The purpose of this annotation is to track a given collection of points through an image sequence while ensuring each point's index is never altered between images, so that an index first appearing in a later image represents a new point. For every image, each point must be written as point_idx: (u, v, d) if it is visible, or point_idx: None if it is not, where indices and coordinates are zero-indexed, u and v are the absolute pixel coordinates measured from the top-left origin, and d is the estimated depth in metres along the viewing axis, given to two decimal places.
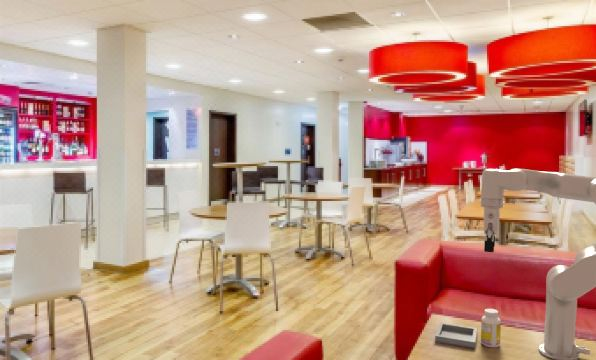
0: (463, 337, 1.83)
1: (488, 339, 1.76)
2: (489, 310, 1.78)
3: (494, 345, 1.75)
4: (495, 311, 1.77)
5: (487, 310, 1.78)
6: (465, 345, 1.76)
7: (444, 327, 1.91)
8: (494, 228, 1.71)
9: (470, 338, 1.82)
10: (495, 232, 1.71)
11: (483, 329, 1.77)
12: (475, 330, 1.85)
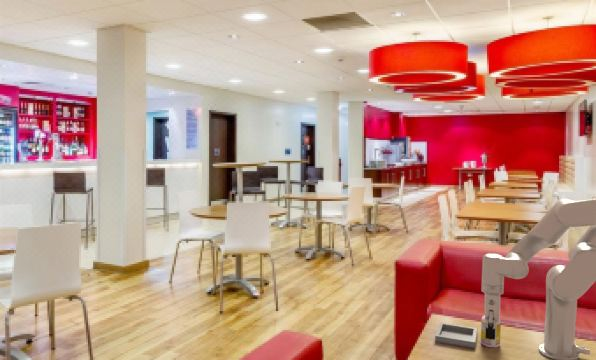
0: (463, 337, 1.83)
1: (488, 339, 1.76)
2: (489, 310, 1.78)
3: (494, 345, 1.75)
4: None
5: None
6: (465, 345, 1.76)
7: (444, 327, 1.91)
8: (495, 317, 1.72)
9: (470, 338, 1.82)
10: (496, 319, 1.72)
11: (483, 329, 1.77)
12: (475, 330, 1.85)
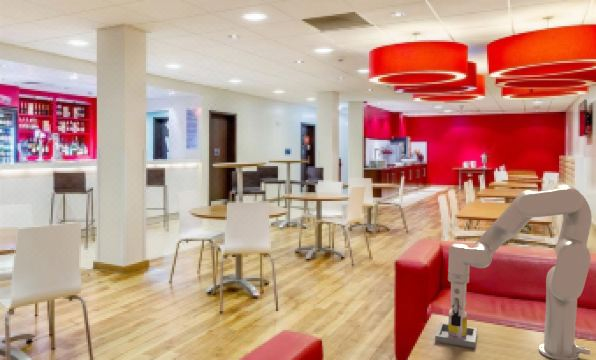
0: None
1: (454, 332, 1.81)
2: None
3: (460, 338, 1.80)
4: None
5: None
6: (465, 345, 1.76)
7: (444, 327, 1.91)
8: (460, 303, 1.77)
9: (470, 338, 1.82)
10: (461, 307, 1.77)
11: (450, 322, 1.82)
12: (475, 330, 1.85)
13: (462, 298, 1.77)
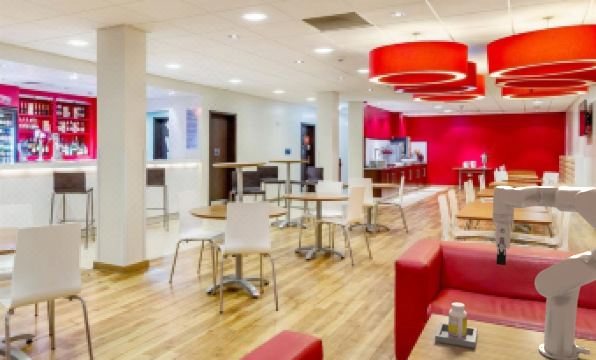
0: None
1: (454, 332, 1.81)
2: (456, 304, 1.83)
3: (460, 338, 1.80)
4: (461, 305, 1.82)
5: (454, 304, 1.83)
6: (465, 345, 1.76)
7: (444, 327, 1.91)
8: (506, 242, 1.81)
9: (470, 338, 1.82)
10: (507, 246, 1.81)
11: (450, 322, 1.82)
12: (475, 330, 1.85)
13: (508, 237, 1.81)
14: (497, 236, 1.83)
